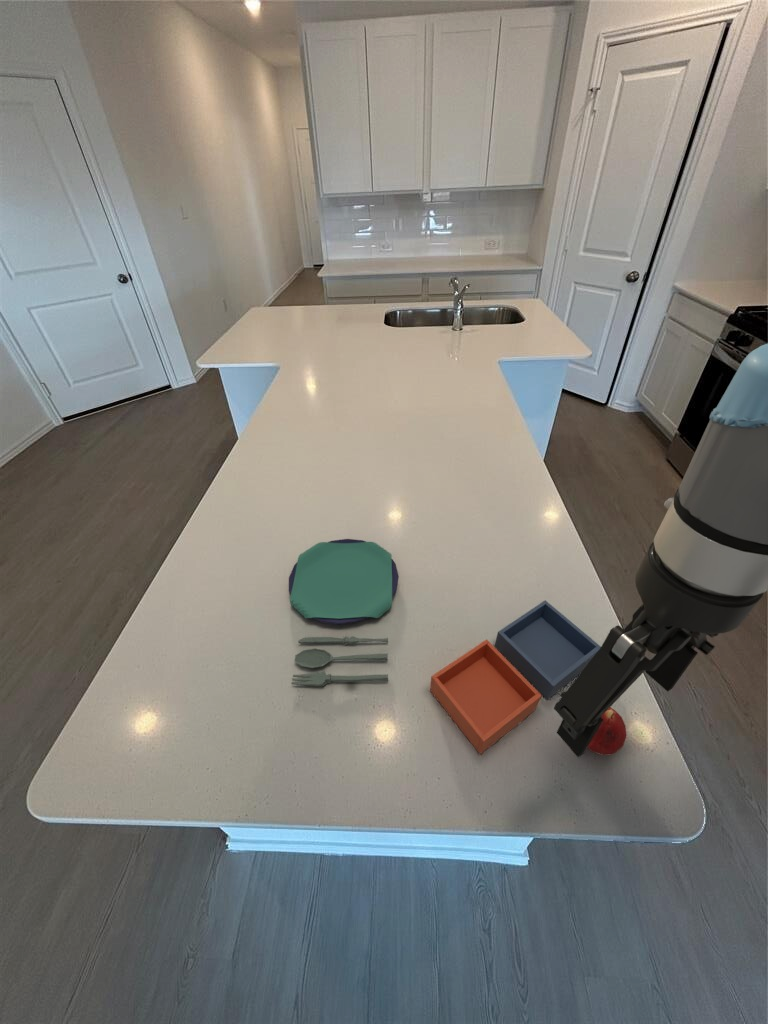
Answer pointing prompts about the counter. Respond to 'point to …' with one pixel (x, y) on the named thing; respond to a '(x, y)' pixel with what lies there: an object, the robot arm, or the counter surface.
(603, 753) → the red rounded oval piece
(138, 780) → the counter surface
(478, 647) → the terracotta bin
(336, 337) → the counter surface
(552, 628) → the blue bin
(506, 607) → the counter surface
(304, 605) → the cutlery set
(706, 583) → the robot arm
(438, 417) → the counter surface
